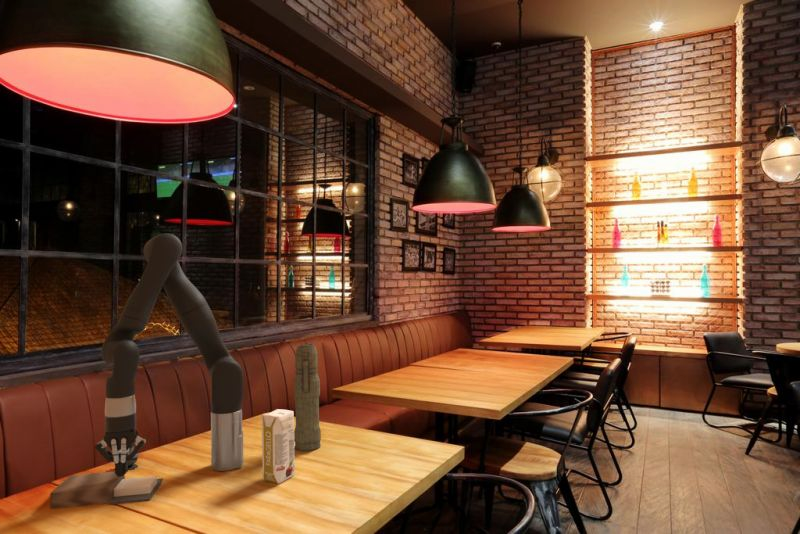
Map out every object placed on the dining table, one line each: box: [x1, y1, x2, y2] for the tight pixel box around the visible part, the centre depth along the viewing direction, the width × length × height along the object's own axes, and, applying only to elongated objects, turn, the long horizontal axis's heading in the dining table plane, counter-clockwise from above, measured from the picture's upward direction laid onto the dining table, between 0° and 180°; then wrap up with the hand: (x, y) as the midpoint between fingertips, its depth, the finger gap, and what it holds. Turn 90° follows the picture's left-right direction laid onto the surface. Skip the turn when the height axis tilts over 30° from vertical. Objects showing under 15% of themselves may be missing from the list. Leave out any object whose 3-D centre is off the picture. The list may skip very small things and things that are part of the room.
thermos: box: [293, 343, 322, 453], centre depth 176 cm, size 9×12×35 cm
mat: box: [108, 477, 164, 505], centre depth 142 cm, size 10×14×1 cm
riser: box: [49, 471, 126, 510], centre depth 139 cm, size 14×12×4 cm
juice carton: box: [261, 408, 296, 484], centre depth 150 cm, size 8×9×19 cm
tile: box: [114, 475, 158, 497], centre depth 142 cm, size 9×7×2 cm
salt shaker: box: [128, 441, 140, 471], centre depth 160 cm, size 6×6×12 cm
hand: (121, 475), depth 141 cm, fingers closed
